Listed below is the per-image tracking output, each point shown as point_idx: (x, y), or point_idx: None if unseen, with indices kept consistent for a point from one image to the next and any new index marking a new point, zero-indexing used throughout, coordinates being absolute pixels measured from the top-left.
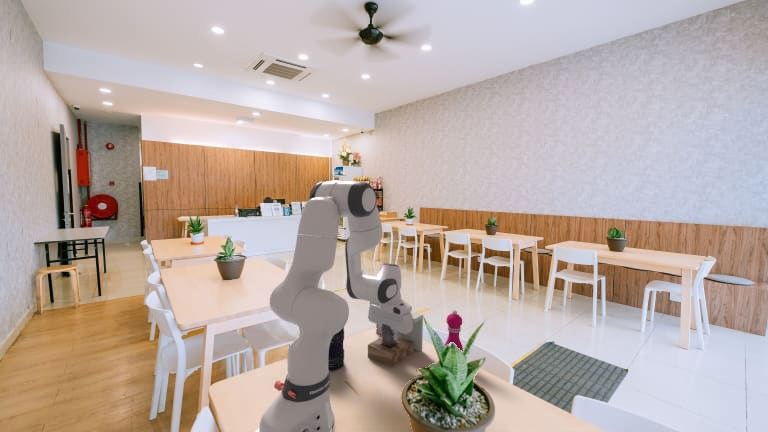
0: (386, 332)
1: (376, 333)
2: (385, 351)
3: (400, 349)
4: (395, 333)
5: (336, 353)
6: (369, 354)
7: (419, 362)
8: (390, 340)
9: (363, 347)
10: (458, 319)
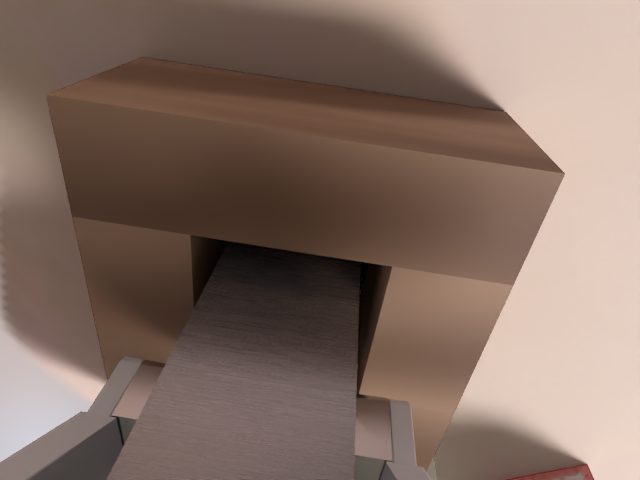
0: (234, 458)
1: (587, 469)
2: (190, 133)
3: (88, 279)
4: (19, 475)
5: None
6: (487, 118)
7: (37, 271)
8: (181, 336)
9: (635, 253)
10: None
